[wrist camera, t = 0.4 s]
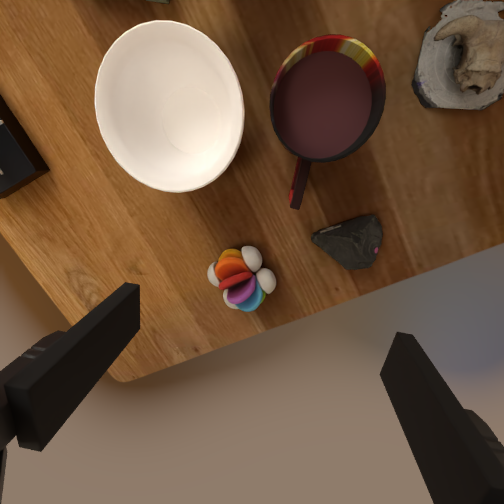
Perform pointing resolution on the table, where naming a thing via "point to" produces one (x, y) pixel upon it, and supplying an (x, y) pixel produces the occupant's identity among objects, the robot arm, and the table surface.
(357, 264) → the rock
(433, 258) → the table surface
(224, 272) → the rainbow petal toy
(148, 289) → the table surface
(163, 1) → the button box
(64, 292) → the table surface
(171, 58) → the bowl
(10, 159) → the control panel
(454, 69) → the skull
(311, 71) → the mug
